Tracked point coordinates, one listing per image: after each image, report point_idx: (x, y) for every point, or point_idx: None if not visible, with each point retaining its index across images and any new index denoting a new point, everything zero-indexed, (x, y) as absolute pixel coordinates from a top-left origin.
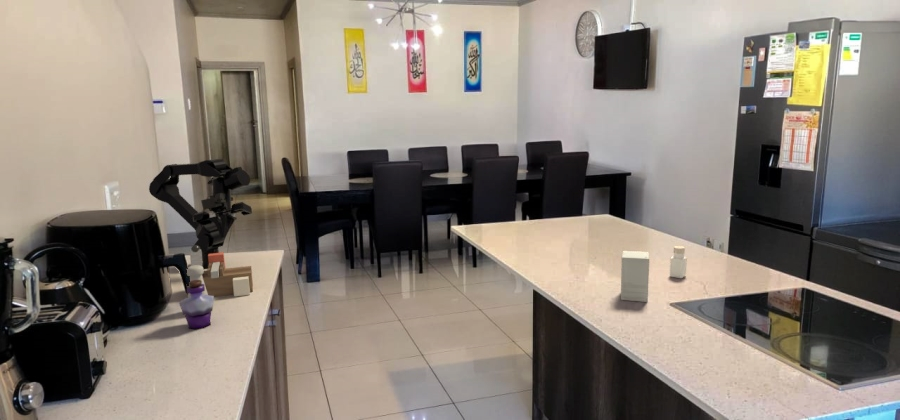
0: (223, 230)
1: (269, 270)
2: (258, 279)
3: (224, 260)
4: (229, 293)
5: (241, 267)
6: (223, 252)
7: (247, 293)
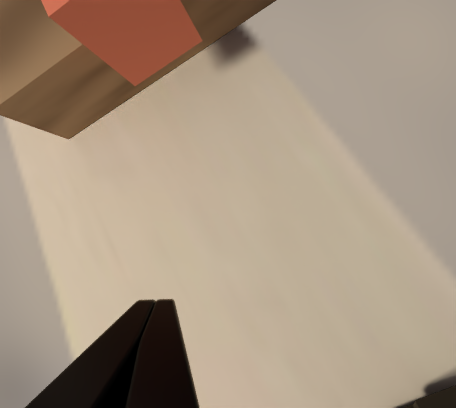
0: (74, 369)
1: (81, 340)
2: (73, 202)
3: (90, 47)
4: None
5: (23, 72)
6: (50, 15)
7: None
